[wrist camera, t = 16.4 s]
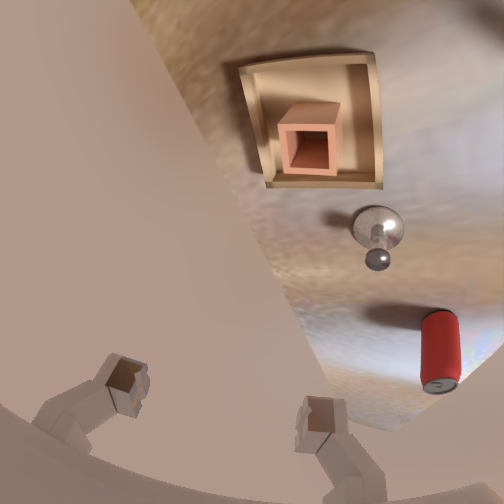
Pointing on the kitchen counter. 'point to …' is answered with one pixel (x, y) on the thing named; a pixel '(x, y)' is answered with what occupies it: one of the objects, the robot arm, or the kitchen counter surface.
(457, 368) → the beer can
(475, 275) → the kitchen counter surface
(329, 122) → the collar
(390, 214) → the silver knob
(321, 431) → the robot arm
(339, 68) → the tray
